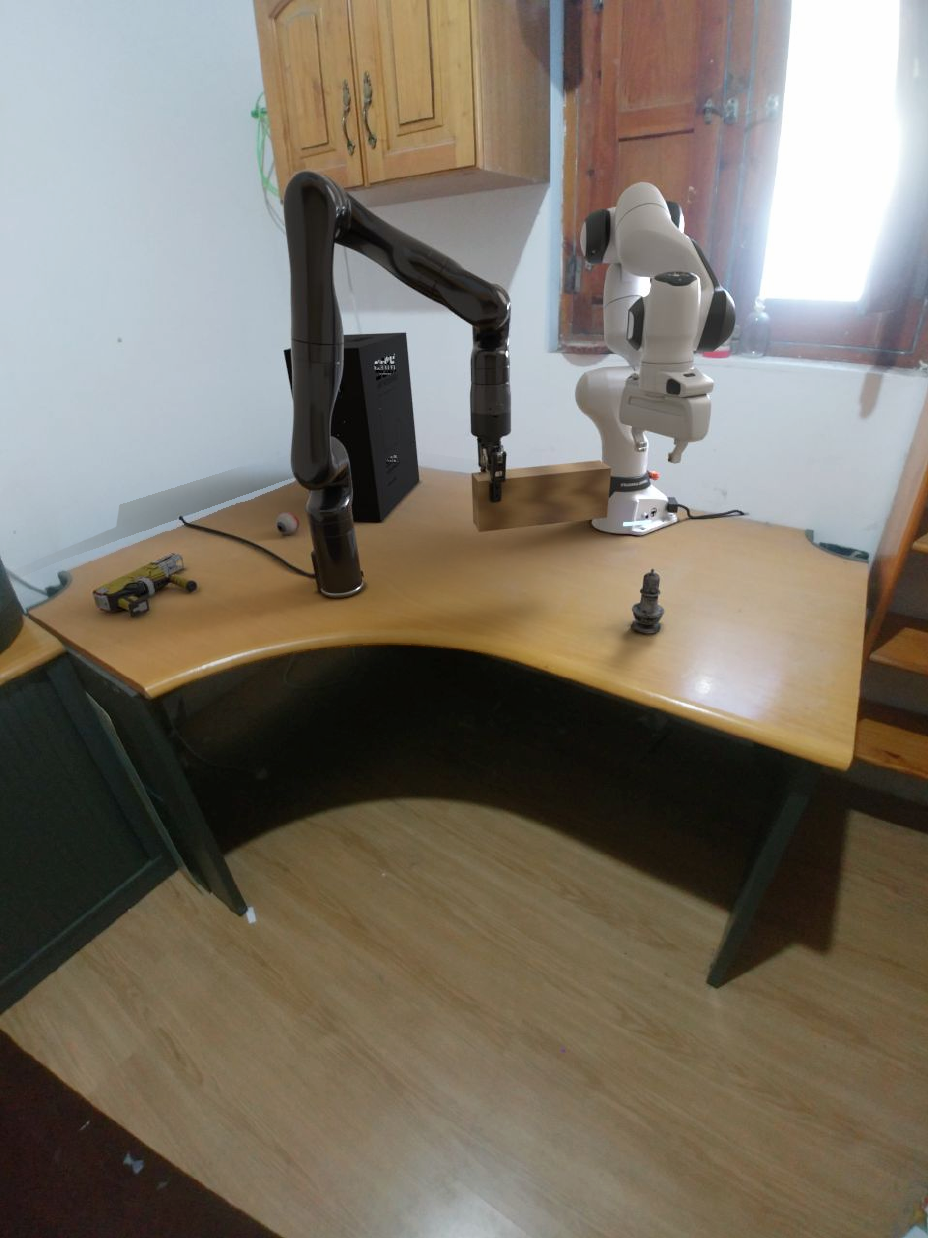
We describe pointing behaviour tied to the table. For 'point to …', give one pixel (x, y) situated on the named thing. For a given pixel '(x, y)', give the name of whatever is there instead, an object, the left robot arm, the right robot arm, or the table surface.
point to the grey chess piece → (648, 605)
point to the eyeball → (287, 523)
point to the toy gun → (141, 586)
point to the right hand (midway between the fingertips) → (656, 456)
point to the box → (542, 496)
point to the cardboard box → (375, 422)
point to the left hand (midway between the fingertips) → (491, 496)
